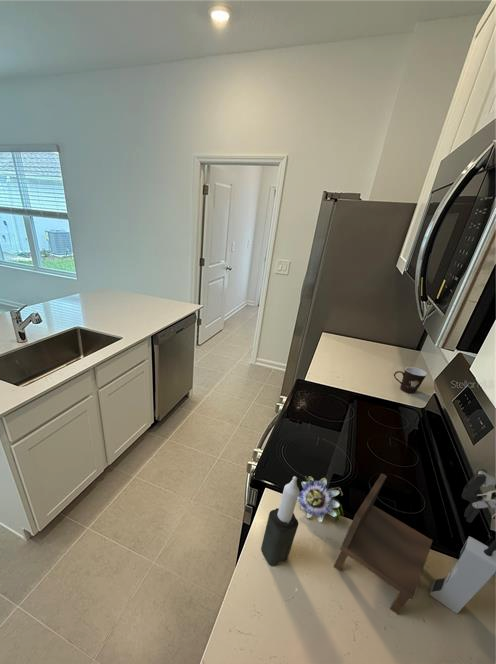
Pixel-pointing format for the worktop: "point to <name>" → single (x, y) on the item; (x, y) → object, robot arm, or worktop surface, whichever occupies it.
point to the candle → (281, 527)
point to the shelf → (386, 548)
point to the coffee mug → (411, 379)
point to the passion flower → (319, 499)
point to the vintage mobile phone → (466, 575)
